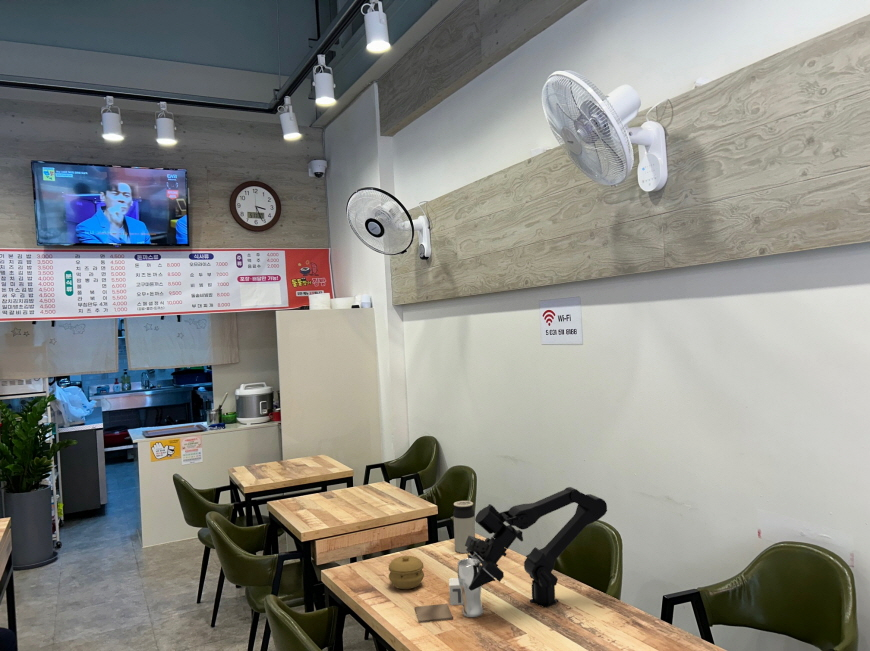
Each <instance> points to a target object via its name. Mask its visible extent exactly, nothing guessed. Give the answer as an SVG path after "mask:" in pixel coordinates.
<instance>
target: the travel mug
mask: <svg viewBox="0 0 870 651" xmlns="http://www.w3.org/2000/svg"><path fill="white" fill-rule="evenodd" d="M473 505H474V502H472V501H470V500H459V501H455V502H454V503H453V507H454V510H453V512H452V513H453V514H452V515H453V534H454V535H453V536H454V551H455V552H457V553H459V552H460V553H459V554H469V553H468V551H467V550H466V549H467V546H465V543H466V541H467V538H468V536H472V537H475V538H476V528H475V527H476V525H475V524H476V521H475V510H474V508H473Z"/></svg>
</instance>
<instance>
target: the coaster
mask: <svg viewBox="0 0 870 651" xmlns="http://www.w3.org/2000/svg"><path fill="white" fill-rule="evenodd" d="M414 611H415V614H417V615H416V618H417V621H418V623H419V624H421V623H431V622H430V621H433V622H441V620H442V621H450V620H454V616H453V613H452V611H451V609H450V607H449V604H448V603H440V604H439V603H438V604H431V605H422V606H421V605H420V606H414Z"/></svg>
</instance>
